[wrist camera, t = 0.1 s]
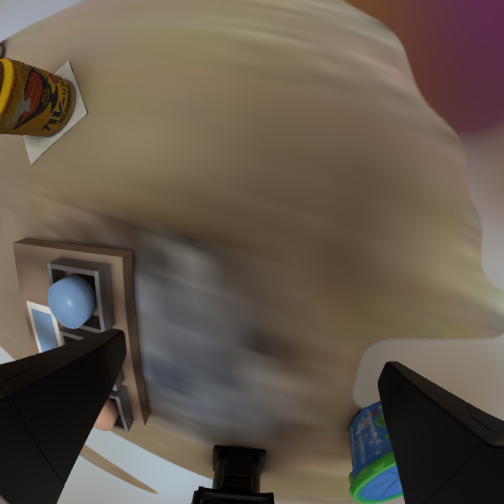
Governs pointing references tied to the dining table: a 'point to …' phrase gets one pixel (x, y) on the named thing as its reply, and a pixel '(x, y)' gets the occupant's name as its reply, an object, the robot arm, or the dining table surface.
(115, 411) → the terracotta button
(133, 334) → the console
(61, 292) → the slate blue button
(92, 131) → the dining table surface
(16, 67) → the condiment
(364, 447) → the snack cup
